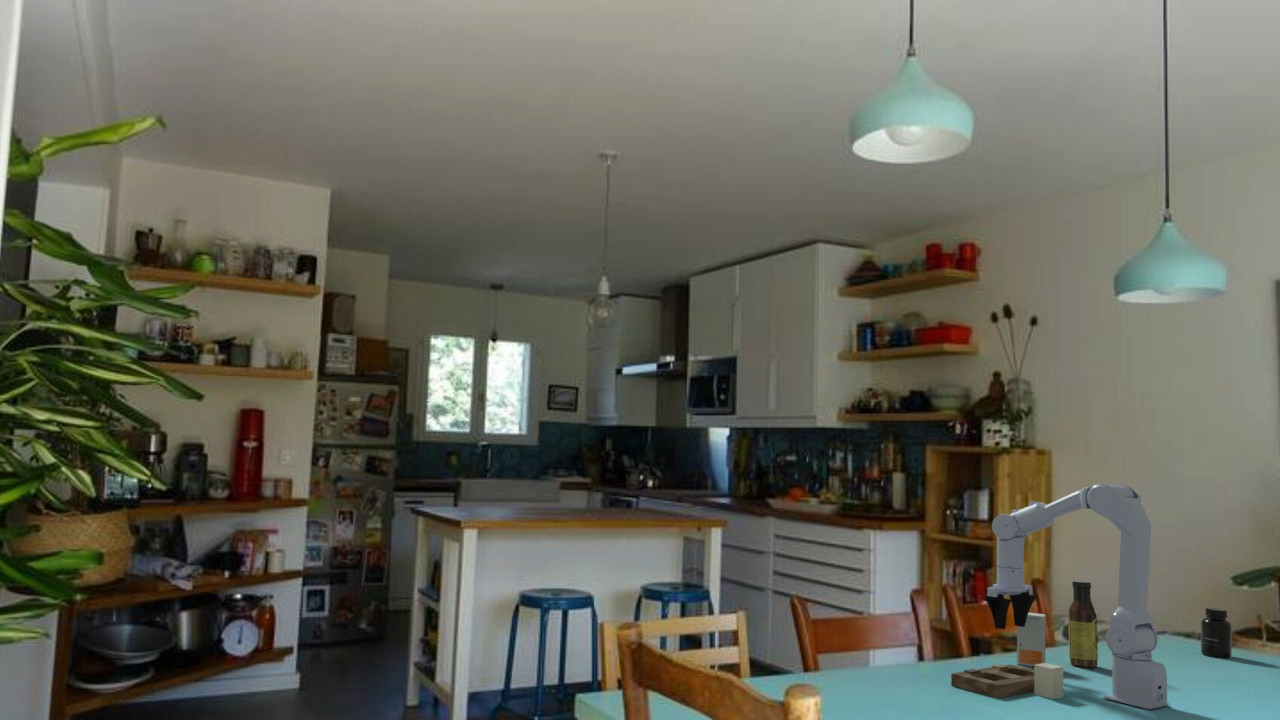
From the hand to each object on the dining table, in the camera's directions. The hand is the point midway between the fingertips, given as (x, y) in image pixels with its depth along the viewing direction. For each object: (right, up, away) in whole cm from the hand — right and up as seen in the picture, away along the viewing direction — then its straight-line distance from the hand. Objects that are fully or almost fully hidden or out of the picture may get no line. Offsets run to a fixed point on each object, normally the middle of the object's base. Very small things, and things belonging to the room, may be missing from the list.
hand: (1010, 627), depth 213 cm
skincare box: (+8, -12, +8) cm, 16 cm away
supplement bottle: (+66, -16, +30) cm, 74 cm away
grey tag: (-14, -6, -14) cm, 21 cm away
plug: (-1, -8, -21) cm, 23 cm away
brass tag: (-6, -6, -9) cm, 12 cm away
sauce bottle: (+21, -12, +10) cm, 27 cm away
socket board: (-7, -8, -15) cm, 19 cm away
